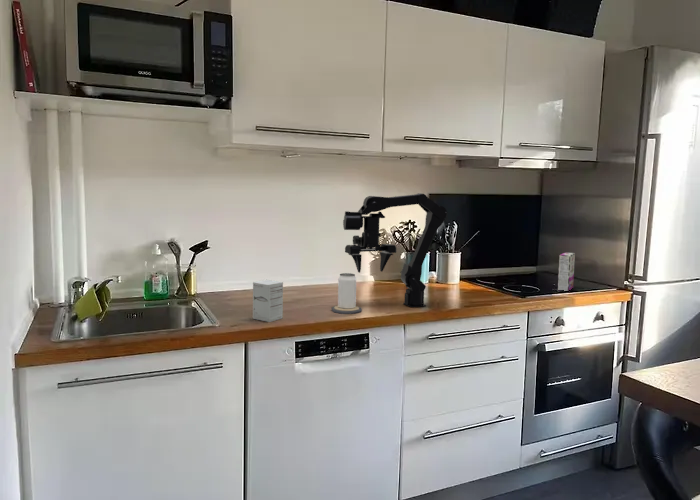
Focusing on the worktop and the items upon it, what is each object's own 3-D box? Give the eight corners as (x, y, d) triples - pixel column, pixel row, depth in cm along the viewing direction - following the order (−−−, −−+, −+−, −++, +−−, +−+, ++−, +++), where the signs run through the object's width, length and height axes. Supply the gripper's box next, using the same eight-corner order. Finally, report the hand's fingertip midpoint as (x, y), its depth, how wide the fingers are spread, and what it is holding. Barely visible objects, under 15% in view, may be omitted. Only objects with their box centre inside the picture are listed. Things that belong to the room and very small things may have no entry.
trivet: (354, 306, 213) (354, 303, 213) (366, 312, 203) (366, 309, 203) (327, 308, 209) (327, 305, 209) (338, 315, 199) (338, 311, 198)
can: (341, 304, 210) (342, 272, 209) (358, 306, 208) (358, 273, 207) (335, 308, 204) (335, 275, 203) (352, 309, 202) (352, 276, 201)
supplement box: (251, 319, 190) (251, 281, 189) (266, 315, 196) (267, 279, 195) (268, 322, 186) (268, 284, 185) (283, 318, 192) (283, 281, 191)
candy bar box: (561, 287, 261) (564, 252, 259) (573, 288, 258) (575, 253, 256) (556, 291, 252) (558, 254, 250) (568, 292, 249) (570, 255, 247)
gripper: (384, 228, 221) (383, 267, 223) (339, 228, 214) (339, 269, 216) (397, 230, 211) (396, 272, 213) (351, 231, 204) (350, 274, 206)
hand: (370, 271), depth 212 cm, fingers open, 9 cm apart
